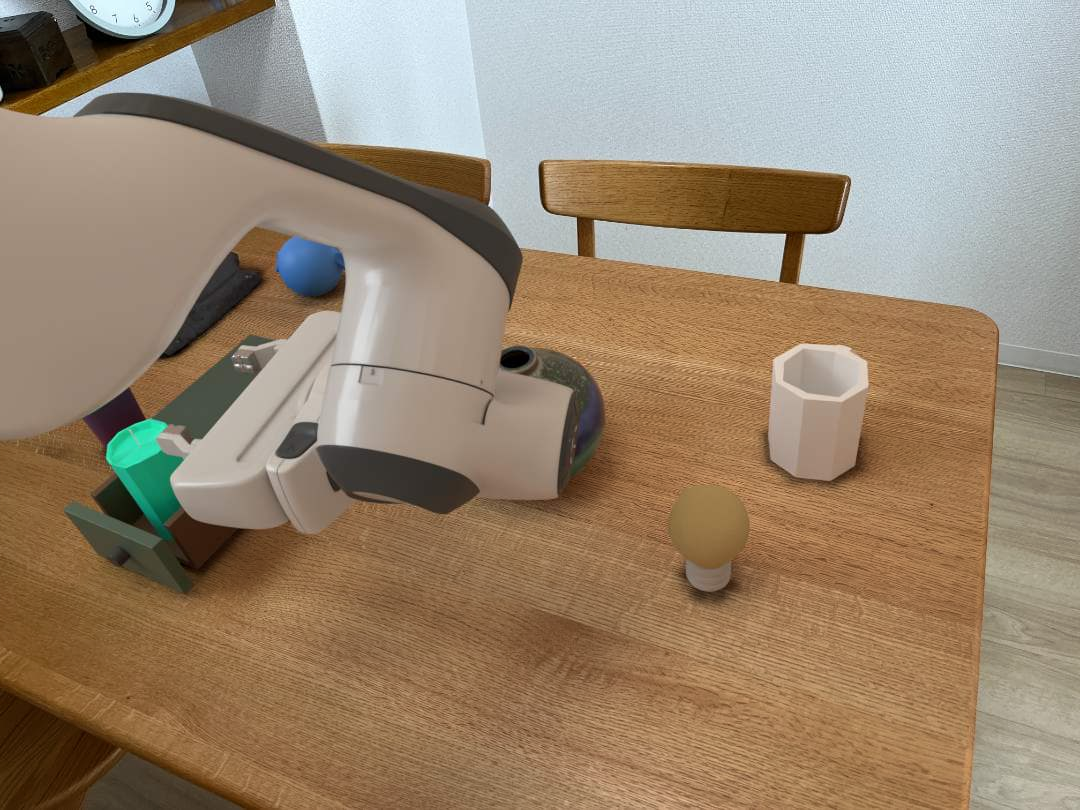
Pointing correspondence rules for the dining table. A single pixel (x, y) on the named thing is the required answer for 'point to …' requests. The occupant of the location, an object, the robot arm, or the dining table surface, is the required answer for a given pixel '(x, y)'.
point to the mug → (817, 410)
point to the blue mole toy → (309, 266)
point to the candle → (146, 471)
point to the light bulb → (708, 533)
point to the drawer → (145, 536)
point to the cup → (114, 417)
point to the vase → (573, 376)
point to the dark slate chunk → (215, 300)
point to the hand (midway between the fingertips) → (203, 396)
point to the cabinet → (210, 394)
